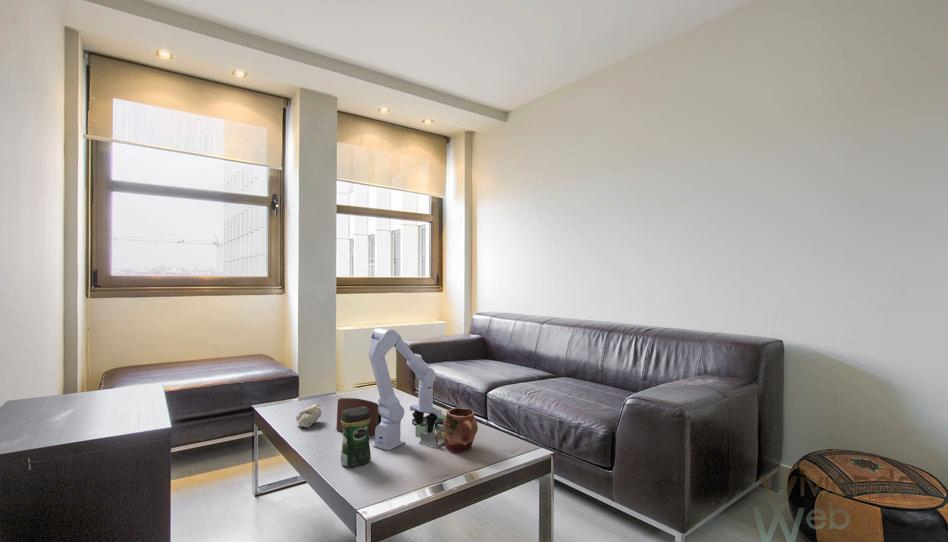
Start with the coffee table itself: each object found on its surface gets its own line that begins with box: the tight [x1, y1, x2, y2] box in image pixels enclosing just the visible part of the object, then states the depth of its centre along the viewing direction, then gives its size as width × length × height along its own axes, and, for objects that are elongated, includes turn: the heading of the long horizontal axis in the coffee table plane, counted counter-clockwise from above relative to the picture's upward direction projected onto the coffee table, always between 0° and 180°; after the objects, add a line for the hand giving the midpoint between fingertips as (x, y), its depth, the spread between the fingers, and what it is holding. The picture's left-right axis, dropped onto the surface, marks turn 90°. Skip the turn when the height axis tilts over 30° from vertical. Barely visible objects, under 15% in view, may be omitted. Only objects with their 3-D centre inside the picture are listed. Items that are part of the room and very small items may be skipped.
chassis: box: [418, 424, 446, 449], centre depth 170 cm, size 12×8×4 cm, turn 149°
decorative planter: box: [443, 407, 479, 454], centre depth 162 cm, size 20×12×14 cm, turn 31°
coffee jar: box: [340, 406, 372, 468], centre depth 150 cm, size 10×8×19 cm
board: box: [415, 421, 436, 438], centre depth 177 cm, size 7×4×5 cm, turn 151°
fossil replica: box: [295, 403, 322, 429], centre depth 187 cm, size 12×8×10 cm
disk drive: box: [411, 413, 446, 429], centre depth 190 cm, size 10×3×15 cm
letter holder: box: [336, 397, 381, 438], centre depth 181 cm, size 10×20×14 cm, turn 69°
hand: (425, 430), depth 177 cm, fingers closed on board, 4 cm apart
